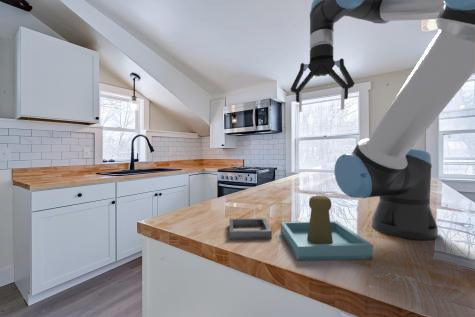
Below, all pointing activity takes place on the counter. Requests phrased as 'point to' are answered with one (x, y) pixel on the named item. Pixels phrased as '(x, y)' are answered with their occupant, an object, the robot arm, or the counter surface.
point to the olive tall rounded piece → (320, 221)
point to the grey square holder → (250, 233)
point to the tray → (340, 249)
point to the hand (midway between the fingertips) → (320, 110)
